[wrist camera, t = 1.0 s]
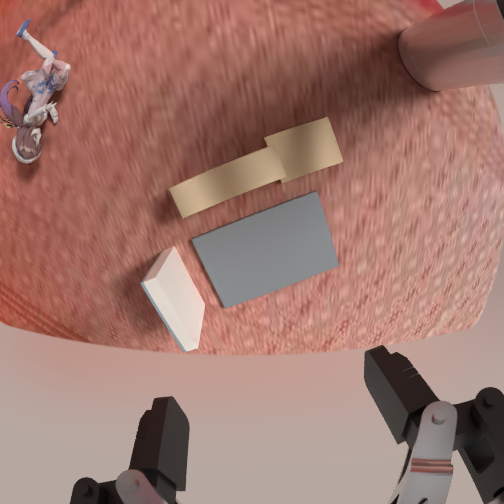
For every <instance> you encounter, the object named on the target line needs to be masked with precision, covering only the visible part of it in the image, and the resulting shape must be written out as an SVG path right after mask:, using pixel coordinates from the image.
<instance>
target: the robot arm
mask: <svg viewBox="0 0 504 504" xmlns="http://www.w3.org/2000/svg"><path fill="white" fill-rule="evenodd" d="M398 48H399V53H400V56H401V59H402V61H403V63H404V65H405V67H406V69H407V70H408V72H409V73H410V74H411V76H412V77H413V78H414V79H415V80H416V81H417V82H418V83H419V84H421V85H422V86H424V87H425V88H427V89H430V90H432V91H442V90H448V89H455V88H463V87H470V86H479V85H488V84H500V83H504V0H464V1H462V2H459V3H457V4H455V5H453V6H451V7H448V8H446V9H444V10H442V11H440V12H438V13H436V14H434V15H432V16H430V17H428V18H426V19H424V20H422V21H420V22H418V23H416V24H414V25H413V26H411V27H409V28H407V29H406V30H404V31H403V32H402V33H401V34H400V36H399V40H398ZM364 379H365V383H366V386H367V388H368V390H369V392H370V394H371V395H372V397H373V399H374V401H375V403H376V405H377V406H378V408H379V410H380V412H381V414H382V416H383V417H384V419H385V421H386V423H387V425H388V427H389V429H390V430H391V433H392V435H393V436H394V438H395V440H396V442H397V444H400V443H402V442H404V441H406V442H407V444H408V446H409V447H408V450H407V453H406V457H405V460H404V463H403V467H402V470H401V473H400V476H399V479H398V482H397V484H396V487H395V489H394V491H393V493H392V495H391V498H390V500H389V502H388V504H445V502H446V499H447V495H448V491H449V487H450V484H451V479H452V475H453V465H451V457H452V452H453V451H455V450H458V451H459V453H460V455H461V457H462V459H463V461H464V463H465V465H466V467H467V469H468V471H469V473H470V475H471V477H472V479H473V481H474V483H475V485H476V487H477V489H478V492H479V494H480V496H481V498H482V501H483V503H484V504H504V395H503V393H502V392H501V391H500V390H499V389H497V388H493V387H488V388H484V389H482V390H481V391H480V392H479V393H478V394H477V396H476V398H475V399H474V400H471V401H467V402H463V403H460V404H454V405H452V404H450V403H449V402H446V401H440V400H439V399H438V398H437V397H436V395H435V394H434V393H433V391H432V390H431V389H430V387H429V386H428V385H427V383H426V382H425V381H424V379H423V378H422V377H421V375H420V374H418V371H417V370H416V369H415V368H414V367H413V365H412V364H411V362H410V361H409V360H408V359H407V358H406V357H404V356H403V355H401V354H399V353H398V352H395V353H393V354H390V353H389V352H388V351H387V349H386V348H385V347H384V346H383V345H380V346H378V347H375V348H373V349H370V350H367V351H366V352H365V362H364ZM189 429H190V428H189V422H188V419H187V417H186V415H185V414H184V412H183V411H182V409H181V408H180V406H179V405H178V403H177V402H176V400H175V399H174V397H172V396H170V397H160V398H155V399H154V401H153V405H152V409H151V410H147V411H146V412H145V413H144V415H143V416H142V418H141V419H140V422H139V426H138V431H137V435H136V439H135V443H134V448H133V452H132V457H131V461H130V466H129V469H128V470H127V471H124V472H122V473H121V474H120V475H119V476H118V478H117V480H114V481H108V482H103V483H97V482H96V481H95V480H93V479H91V478H87V477H86V478H81V479H79V480H78V481H77V482H76V483H75V485H74V488H73V492H72V496H71V501H70V504H181V503H180V502H179V501H178V500H177V499H176V491H185V488H186V470H187V455H188V442H189V441H188V440H189Z"/></svg>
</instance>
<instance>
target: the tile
mask: <svg viewBox="0 0 504 504" xmlns="http://www.w3.org/2000/svg"><path fill="white" fill-rule="evenodd" d="M140 284H141V285H142V287H143V289H144V291H145V292H146V294H147V296H148V297H149V299H150V301H151V302H152V304H153V306H154V307H155V309H156V311H157V312H158V314H159V316H160V317H161V319H162V320H163V322H164V323H165V325H166V327H167V328H168V330H169V331H170V333H171V334H172V336H173V337H174V339H175V340H176V342H177V343H178V345H179V346H180V348H181V349H182V351H183V352H186V351H190V350H193V349H196V348H198V346H199V339H200V333H201V327H202V320H203V314H204V308H205V304H204V302H203V300H202V298H201V296H200V295H199V293H198V291H197V289H196V287H195V285H194V283H193V281H192V279H191V277H190V276H189V274H188V272H187V270H186V268H185V266H184V264H183V262H182V260H181V258H180V256H179V254H178V252H177V250H176V248H175V246H172V247H170V248H168V249H165V250H163V251H162V252H161V253H160V255H159V256H158V258H157V259H156V261H155V262H154V263H153V265H152V267H151V268H150V270H149V271H148V273H147V274H146V276H145V277H144V279H143V280H142V282H141V283H140Z"/></svg>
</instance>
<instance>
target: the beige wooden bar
mask: <svg viewBox="0 0 504 504" xmlns="http://www.w3.org/2000/svg"><path fill="white" fill-rule="evenodd" d="M264 140H265V142H266V145H267V147H265V148H263V149H260V150H257V151H255V152H252V153H249V154H247V155H244V156H242V157H239V158H236V159H234V160H231V161H229V162H227V163H224V164H222V165H219V166H217V167H214V168H212V169H210V170H207V171H205V172H203V173H201V174H198V175H196V176H194V177H191V178H189V179H187V180H185V181H183V182H180V183H178V184H176V185H175V186H173V187H171V188H170V189H169V190H170V192H171V194H172V197H173V199H174V201H175V203H176V205H177V208H178V210H179V212H180V214H181V216H182V218H185V217H188V216H190V215H192V214H195V213H197V212H199V211H202V210H204V209H206V208H209V207H211V206H213V205H216V204H218V203H221V202H223V201H225V200H228V199H230V198H233V197H235V196H238V195H240V194H243V193H245V192H248V191H250V190H253V189H255V188H258V187H261V186H263V185H266V184H268V183H271V182H274V181H276V180H279V179H280V181H281V183H285V182H288V181H290V180H293V179H296V178H298V177H301V176H304V175H307V174H310V173H312V172H315V171H318V170H321V169H324V168H327V167H330V166H332V165H335V164H338V163H341V162H343V159H342V156H341V153H340V150H339V147H338V144H337V141H336V138H335V135H334V132H333V130H332V127H331V124H330V121H329V119H328V117H326V118H323V119H319V120H316V121H312V122H309V123H306V124H303V125H300V126H296V127H293V128H290V129H287V130H284V131H281V132H278V133H276V134H273V135H270V136H267V137H264Z"/></svg>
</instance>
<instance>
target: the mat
mask: <svg viewBox="0 0 504 504" xmlns="http://www.w3.org/2000/svg"><path fill="white" fill-rule="evenodd" d="M192 242H193V244H194V246H195V249H196V251H197V253H198V255H199V257H200V259H201V261H202V263H203V265H204V267H205V269H206V271H207V273H208V275H209V277H210V279H211V281H212V283H213V285H214V287H215V289H216V291H217V293H218V295H219V297H220V299H221V301H222V303H223V305H224V307H225V308H228V307H231V306H234V305H237V304H240V303H242V302H245V301H248V300H251V299H254V298H256V297H259V296H262V295H265V294H267V293H270V292H273V291H275V290H278V289H281V288H283V287H286V286H289V285H291V284H294V283H296V282H299V281H302V280H304V279H307V278H309V277H312V276H314V275H317V274H319V273H322V272H325V271H327V270H329V269H332V268H334V267H337V266H339V264H338V260H337V256H336V252H335V249H334V245H333V242H332V238H331V234H330V231H329V228H328V224H327V221H326V217H325V214H324V211H323V208H322V204H321V201H320V198H319V195H318V192H317V191H313V192H310V193H307V194H305V195H302V196H299V197H296V198H294V199H291V200H288V201H286V202H283V203H280V204H278V205H275V206H272V207H270V208H267V209H265V210H262V211H259V212H257V213H254V214H252V215H249V216H246V217H244V218H241V219H239V220H236V221H234V222H231V223H229V224H226V225H224V226H221V227H219V228H216V229H214V230H211V231H209V232H206V233H204V234H201V235H199V236H197V237H194V238H192Z"/></svg>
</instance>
